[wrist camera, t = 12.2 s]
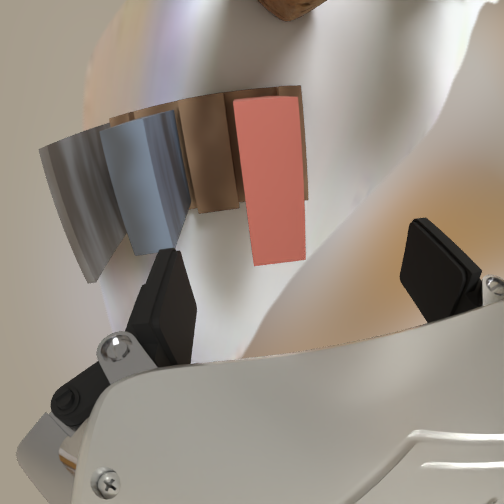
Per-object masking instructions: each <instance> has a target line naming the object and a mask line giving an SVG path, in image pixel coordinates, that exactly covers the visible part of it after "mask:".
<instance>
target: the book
mask: <svg viewBox="0 0 504 504" xmlns="http://www.w3.org/2000/svg"><path fill="white" fill-rule="evenodd" d="M233 106H234V114H235V122H236V130H237V138H238V145H239V153H240V161H241V169H242V177H243V184H244V192H245V200H246V208H247V216H248V223H249V231H250V239H251V247H252V255H253V262H254V266H259V265H267V264H275V263H283V262H291V261H299V260H306V251H305V205H304V180H303V160H302V144H301V129H300V116H299V104H298V97H289V96H261V97H251V98H242V99H234V101H233Z"/></svg>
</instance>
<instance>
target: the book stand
mask: <svg viewBox="0 0 504 504" xmlns="http://www.w3.org/2000/svg"><path fill="white" fill-rule="evenodd" d="M261 96H289V97H298V104H299V116H300V129H301V144H302V160H303V180H304V201H305V200H308V178H307V159H306V143H305V128H304V115H303V104H302V93H301V85H298V86H279V87H269V88H258V89H248V90H239V91H232V92H224V93H223V92H222V93H216V94H209V95H203V96H198V97H192V98H187V99H182V100H178V101H174V102H170V103H165V104H161V105H157V106H153V107H149V108H145V109H141V110H138V111H134V112H130V113H126V114H123V115H119V116H116V117H113V118H110V119H109V121H110V123H107V124H104V125H101V126H98V127H95V128H92V129H89V130H86V131H83V132H80V133H78V134H75V135H72V136H70V137H67V138H64V139H62V140H59V141H57V142H55V143H52V144H50V145H47V146H45V147H43V148H41V149H39V153H40V157H41V161H42V164H43V168H44V171H45V175H46V178H47V182H48V185H49V188H50V191H51V194H52V198H53V200H54V203H55V206H56V209H57V212H58V215H59V218H60V220H61V223H62V225H63V228H64V231H65V233H66V236H67V238H68V240H69V243H70V245H71V248H72V250H73V253H74V255H75V257H76V259H77V262H78V264H79V266H80V268H81V270H82V272H83V275H84V277H85V279H86V281H87V283H95V282H97V280H98V278H99V276H100V275H101V273H102V271H103V270H104V268H105V266H106V265H107V263H108V261H109V260H110V258H111V256H112V255H113V253H114V252H115V250H116V248H117V247H118V245H119V244H120V242H121V241H122V239H123V238H124V236H125V234H126V233H127V234H128V237H129V240H130V242H131V245H132V248H133V251H134V254H135V256H137V255H144V254H152V253H158V252H159V250H160V249H167V248H175V247H176V244H177V241H178V238H179V235H180V232H181V229H182V226H183V224H184V221H185V218H186V215H187V212H188V210H189V209H194V208H198V213H199V214H201V213H208V212H215V211H222V210H229V209H237V208H239V202H244V201H246V200H245V192H244V184H243V177H242V169H241V161H240V153H239V145H238V138H237V130H236V122H235V114H234V106H233V101H234V99H242V98H251V97H261Z"/></svg>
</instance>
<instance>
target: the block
mask: <svg viewBox="0 0 504 504" xmlns="http://www.w3.org/2000/svg"><path fill="white" fill-rule="evenodd" d="M258 1H259V2H260V3H261V4H262V5H263V6H264V7H265V8H266V9H267V10H268V11H269V12H271V13H272V14H274V15H275V16H276V17H278V18H279V19H281V20H284V21H291V20H294V19H296V18H299V17H301V16H303V15H305V14H306V13H308V12H309V11H311V10H313V9H314V8H316V7H317V6H319V5H321V4H322V3H324V2H325V1H327V0H258Z"/></svg>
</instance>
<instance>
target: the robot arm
mask: <svg viewBox="0 0 504 504" xmlns="http://www.w3.org/2000/svg"><path fill="white" fill-rule="evenodd" d="M481 273H482V270H481V269H480V268H479V267H478V266H477V265H476V264H475V263H474V262H473V261H472V260H471V259H470V258H469V257H468V256H467V255H466V254H465V253H464V252H463V251H462V250H461V249H460V248H459V247H458V246H457V245H456V244H455V243H454V242H453V241H452V240H451V239H450V238H448V237H447V236H446V235H445V234H444V233H443V232H442V231H441V230H440V229H439V228H437V227H436V226H435V225H434V224H433V223H432V222H431V221H429V220H428V219H427V218H419V219H414V220H413V221H412V223H410V225H409V230H408V237H407V242H406V247H405V253H404V258H403V262H402V267H401V272H400V281H401V283H402V285H403V286H404V288H405V289H406V290H407V292H408V293H409V295H410V296H411V298H412V299H413V301H414V302H415V304H416V305H417V307H418V308H419V310H420V312H421V313H422V315H423V316H424V318H425V319H426V321H427V324H423V325H420V326H416V327H413V328H409V329H405V330H401V331H397V332H393V333H389V334H385V335H380V336H376V337H372V338H367V339H363V340H358V341H353V342H349V343H344V344H338V345H333V346H328V347H322V348H317V349H311V350H305V351H298V352H292V353H285V354H278V355H270V356H263V357H254V358H245V359H236V360H226V361H215V362H205V363H194V364H190V363H191V354H192V346H193V337H194V329H195V322H196V314H197V306H196V302H195V299H194V296H193V292H192V289H191V286H190V283H189V279H188V276H187V273H186V269H185V266H184V262H183V259H182V255H181V252H180V251H176V250H175V248H167V249H160V250H159V252H158V254H157V256H156V259H155V261H154V264H153V266H152V269H151V271H150V274H149V276H148V279H147V282H146V284H144V285H142V287H141V289H140V292H139V295H138V297H137V300H136V302H135V305H134V308H133V310H132V313H131V316H130V319H129V322H128V324H127V327H126V330H125V331H119V332H115V333H112V334H110V335H109V336H107V337H106V338H104V339H103V340H102V341H101V343H100V344H99V346H98V348H97V354H96V355H97V358H98V362H96V363H95V364H93V365H92V366H90V367H89V368H87V369H86V370H85V371H83V372H82V373H80V374H79V375H77V376H76V377H75V378H73V379H72V380H70V381H69V382H68V383H66V384H64V385H63V386H61V387H60V388H59V389H58V390H57V391H56V392H55V394H54V395H53V397H52V400H51V410H52V411H51V412H50V413H49V414H48V413H46V412H45V413H44V415H43V416H42V417H41V418H40V419H39V421H38V422H37V423H36V424H35V425H34V427H33V428H32V429H31V430H30V431H29V433H28V434H27V435H26V436H25V438H24V439H23V440H22V441H21V442H20V444H19V446H18V448H17V452H16V456H17V461H18V463H19V465H20V466H21V468H22V469H23V470H24V472H25V473H26V475H27V476H28V477H29V479H30V480H31V481H32V482H33V484H34V485H35V486H36V488H37V489H38V490H39V492H40V493H41V494H42V495H43V497H44V498H45V499H46V500H47V501H48V502H49V503H50V504H504V280H503V279H502V278H500V277H498V276H495V275H487V276H485V277H484V278H483V279H482V281H481V280H480V275H481Z"/></svg>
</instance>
